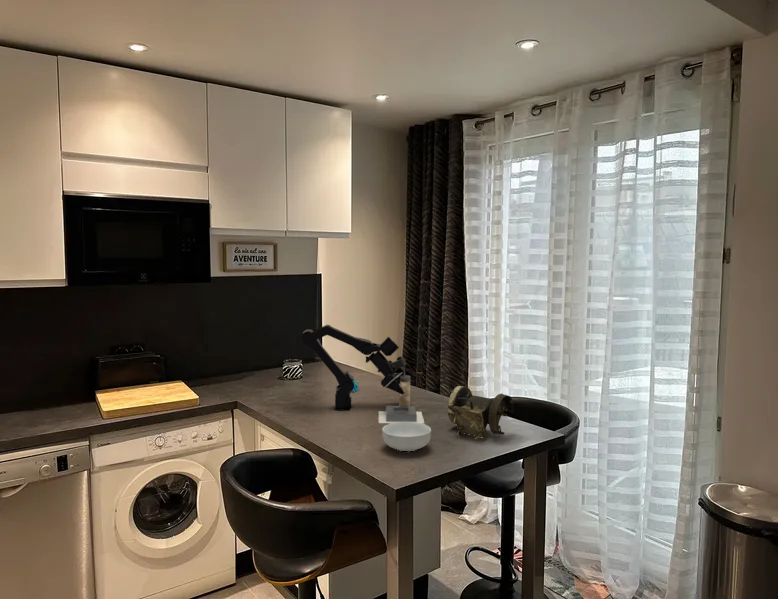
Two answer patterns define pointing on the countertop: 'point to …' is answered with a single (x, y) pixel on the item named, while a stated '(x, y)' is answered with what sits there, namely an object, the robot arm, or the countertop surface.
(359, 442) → the countertop surface
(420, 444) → the cereal bowl
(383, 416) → the board
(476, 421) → the bench grinder
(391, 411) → the housing
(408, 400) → the beige tall cylinder
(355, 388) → the gear
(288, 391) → the countertop surface
